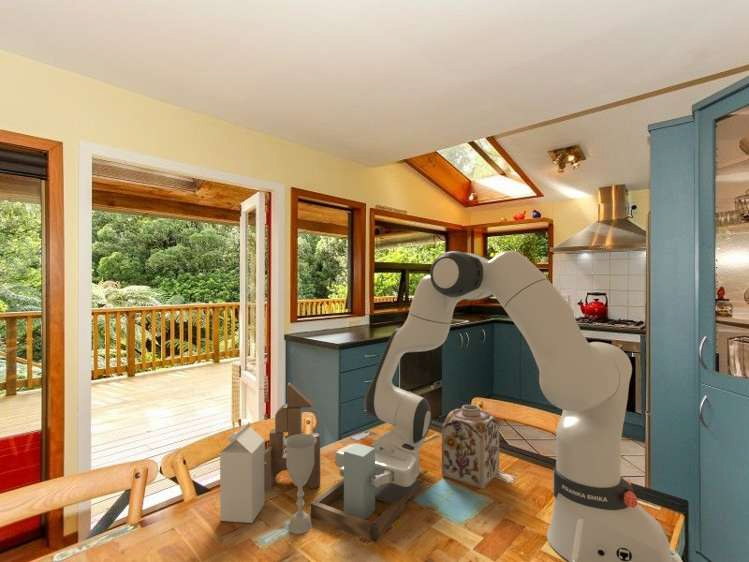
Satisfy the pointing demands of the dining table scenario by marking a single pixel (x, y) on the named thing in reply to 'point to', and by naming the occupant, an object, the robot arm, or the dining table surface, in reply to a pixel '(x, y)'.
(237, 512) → the milk carton
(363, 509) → the block
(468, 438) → the decorative jar
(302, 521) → the chalice
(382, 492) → the dark grey flat plate
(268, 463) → the wooden toy
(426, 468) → the dining table surface
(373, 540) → the wooden rectangular frame
